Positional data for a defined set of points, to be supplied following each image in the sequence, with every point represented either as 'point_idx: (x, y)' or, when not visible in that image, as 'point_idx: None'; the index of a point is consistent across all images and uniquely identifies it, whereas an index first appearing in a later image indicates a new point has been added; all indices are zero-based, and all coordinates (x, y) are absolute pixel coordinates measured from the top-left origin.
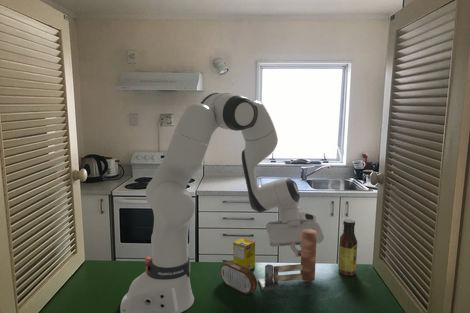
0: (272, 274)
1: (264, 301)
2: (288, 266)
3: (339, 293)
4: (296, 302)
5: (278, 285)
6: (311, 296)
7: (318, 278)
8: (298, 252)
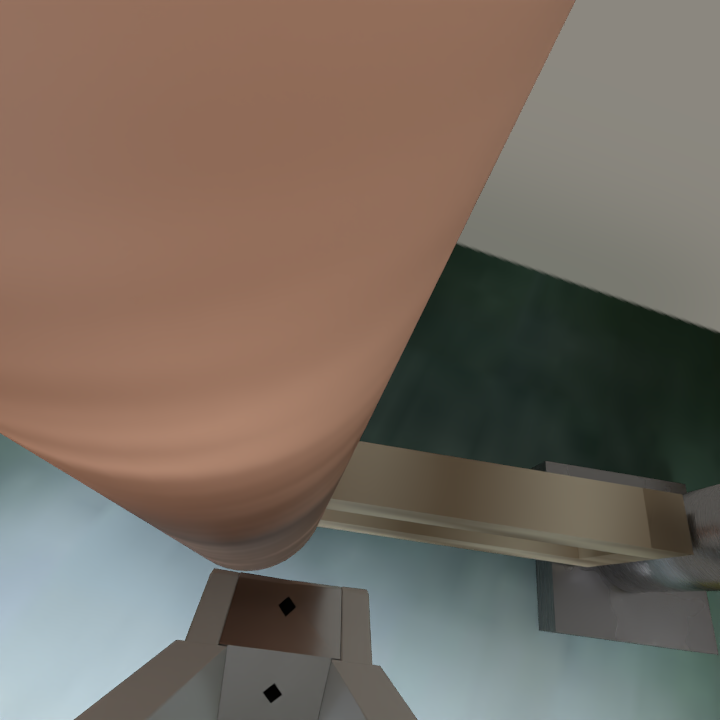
0: None
1: (660, 371)
2: (513, 489)
3: None
4: (468, 296)
5: (555, 472)
6: None
7: (108, 526)
8: (324, 617)
